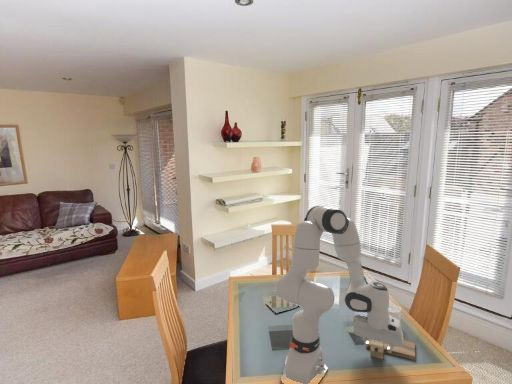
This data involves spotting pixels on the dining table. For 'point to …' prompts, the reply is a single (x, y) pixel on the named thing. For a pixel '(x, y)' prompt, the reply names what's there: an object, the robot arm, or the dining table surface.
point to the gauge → (377, 349)
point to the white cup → (395, 311)
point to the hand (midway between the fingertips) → (377, 348)
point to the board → (400, 349)
